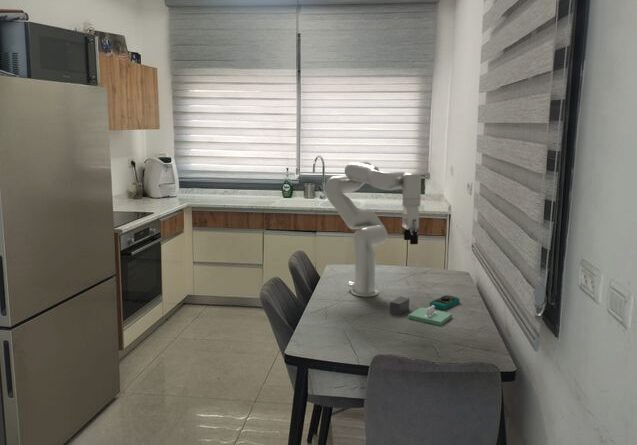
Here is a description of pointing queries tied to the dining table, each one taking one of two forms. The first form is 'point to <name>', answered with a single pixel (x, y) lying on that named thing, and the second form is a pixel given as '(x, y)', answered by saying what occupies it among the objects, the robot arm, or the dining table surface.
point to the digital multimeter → (445, 302)
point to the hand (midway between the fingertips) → (410, 241)
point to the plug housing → (399, 305)
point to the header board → (430, 315)
